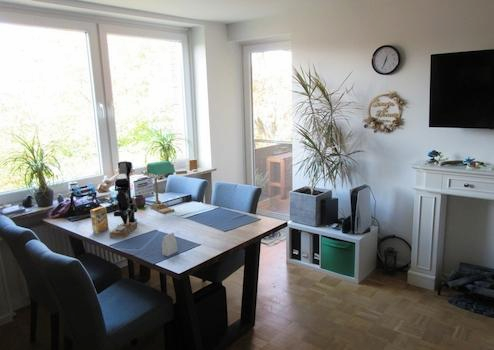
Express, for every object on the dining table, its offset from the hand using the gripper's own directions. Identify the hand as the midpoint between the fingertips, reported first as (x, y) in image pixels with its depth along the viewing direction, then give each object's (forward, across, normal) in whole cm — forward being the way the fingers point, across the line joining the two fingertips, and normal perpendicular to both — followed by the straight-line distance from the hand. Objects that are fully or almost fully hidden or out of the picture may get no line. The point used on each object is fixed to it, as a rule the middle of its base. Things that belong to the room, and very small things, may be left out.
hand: (126, 223), depth 236 cm
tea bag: (+5, +34, +37) cm, 50 cm away
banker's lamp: (+5, -44, +8) cm, 46 cm away
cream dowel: (+2, 0, 0) cm, 2 cm away
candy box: (+5, +2, -16) cm, 17 cm away
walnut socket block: (+5, +5, 0) cm, 7 cm away
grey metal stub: (+4, +9, 0) cm, 10 cm away
